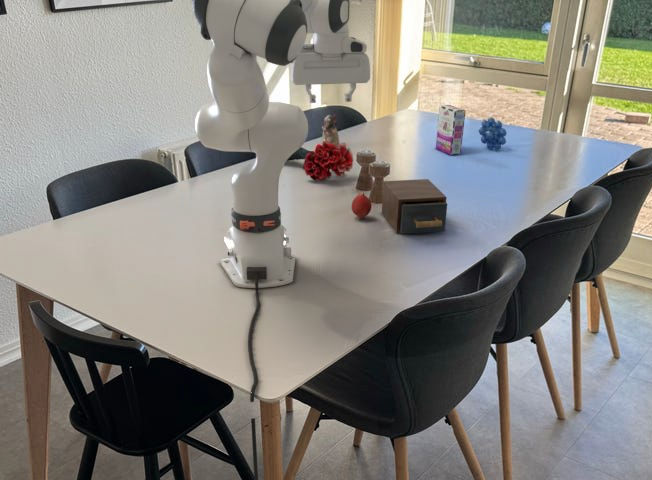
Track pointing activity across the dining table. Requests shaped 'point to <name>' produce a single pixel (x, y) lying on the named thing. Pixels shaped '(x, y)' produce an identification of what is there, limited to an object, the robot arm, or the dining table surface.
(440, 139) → the candy bar box
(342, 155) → the carnation
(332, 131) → the figurine
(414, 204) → the drawer
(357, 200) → the onion
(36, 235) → the dining table surface
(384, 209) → the cabinet
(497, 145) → the grapes
